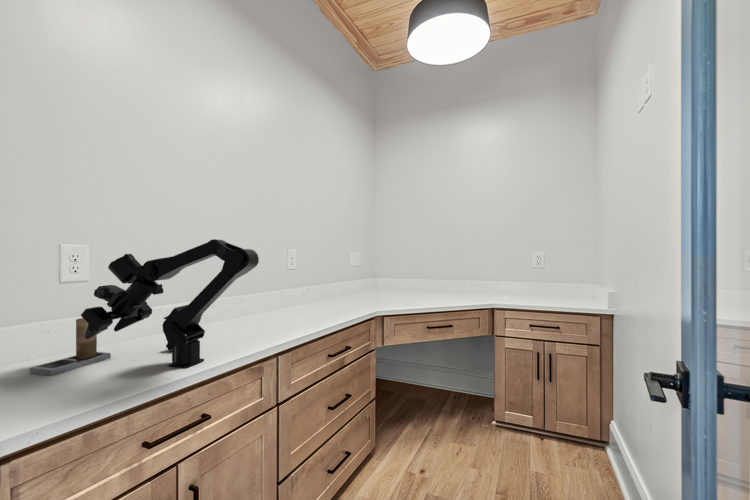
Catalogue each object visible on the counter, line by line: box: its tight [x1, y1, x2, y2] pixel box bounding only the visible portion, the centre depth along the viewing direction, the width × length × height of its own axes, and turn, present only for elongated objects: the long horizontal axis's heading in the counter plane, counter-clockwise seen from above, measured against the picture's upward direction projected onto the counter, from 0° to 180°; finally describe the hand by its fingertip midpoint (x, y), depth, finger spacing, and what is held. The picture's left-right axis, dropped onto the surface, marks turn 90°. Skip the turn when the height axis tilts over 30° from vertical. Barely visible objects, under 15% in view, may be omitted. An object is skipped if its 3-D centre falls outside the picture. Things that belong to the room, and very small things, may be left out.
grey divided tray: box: [29, 351, 112, 377], centre depth 94 cm, size 8×15×2 cm, turn 165°
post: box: [75, 317, 98, 360], centre depth 97 cm, size 4×4×12 cm
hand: (101, 334), depth 97 cm, fingers open, 9 cm apart
